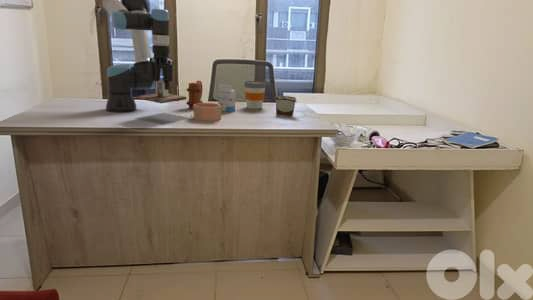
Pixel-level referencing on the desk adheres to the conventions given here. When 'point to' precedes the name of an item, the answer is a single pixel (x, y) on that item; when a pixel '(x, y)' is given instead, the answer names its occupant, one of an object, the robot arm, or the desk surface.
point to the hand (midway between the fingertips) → (162, 95)
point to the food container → (285, 105)
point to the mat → (162, 118)
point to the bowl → (207, 111)
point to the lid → (161, 96)
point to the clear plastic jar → (226, 98)
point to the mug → (194, 94)
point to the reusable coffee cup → (254, 94)
